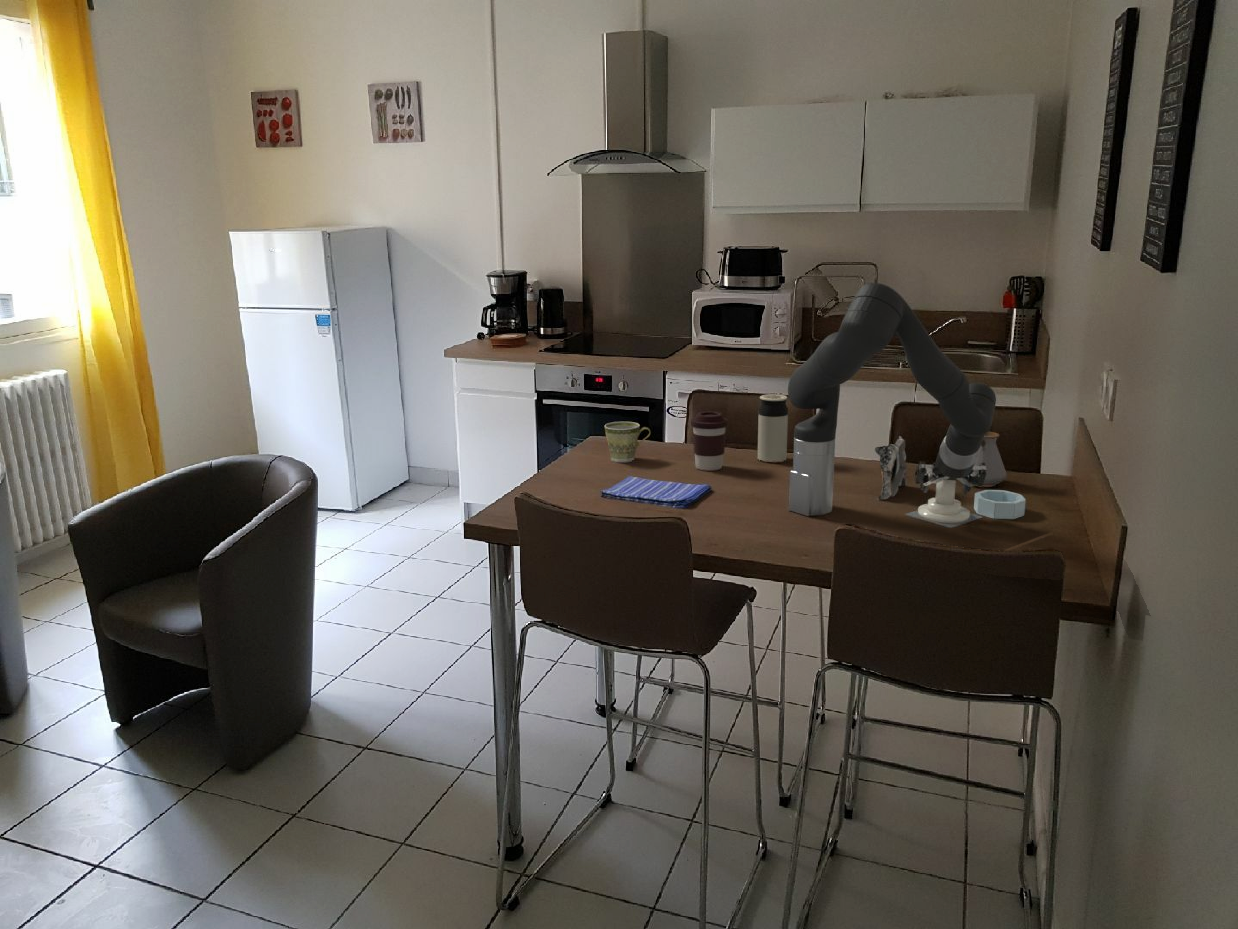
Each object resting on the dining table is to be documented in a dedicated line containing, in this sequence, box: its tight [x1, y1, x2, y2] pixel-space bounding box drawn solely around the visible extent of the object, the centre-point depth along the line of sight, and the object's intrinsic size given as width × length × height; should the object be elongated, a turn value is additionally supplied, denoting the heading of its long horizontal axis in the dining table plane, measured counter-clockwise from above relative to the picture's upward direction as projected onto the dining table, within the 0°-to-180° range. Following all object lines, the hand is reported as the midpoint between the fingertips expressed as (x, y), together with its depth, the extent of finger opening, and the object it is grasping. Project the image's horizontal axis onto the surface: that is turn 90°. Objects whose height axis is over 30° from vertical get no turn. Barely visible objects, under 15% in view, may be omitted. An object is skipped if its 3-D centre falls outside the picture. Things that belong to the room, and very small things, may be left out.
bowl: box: [973, 489, 1027, 520], centre depth 208 cm, size 10×10×4 cm
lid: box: [917, 480, 971, 523], centre depth 205 cm, size 11×11×10 cm
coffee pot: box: [972, 431, 1008, 485], centre depth 225 cm, size 21×12×15 cm, turn 156°
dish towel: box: [600, 475, 712, 509], centre depth 227 cm, size 17×24×3 cm
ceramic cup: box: [604, 421, 652, 463], centre depth 258 cm, size 13×10×10 cm
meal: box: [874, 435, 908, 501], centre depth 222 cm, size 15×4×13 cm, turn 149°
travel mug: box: [757, 393, 789, 462], centre depth 254 cm, size 8×8×18 cm
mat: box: [904, 509, 983, 529], centre depth 206 cm, size 12×12×1 cm
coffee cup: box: [690, 411, 729, 472], centre depth 248 cm, size 10×10×15 cm
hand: (944, 489), depth 206 cm, fingers open, 8 cm apart
